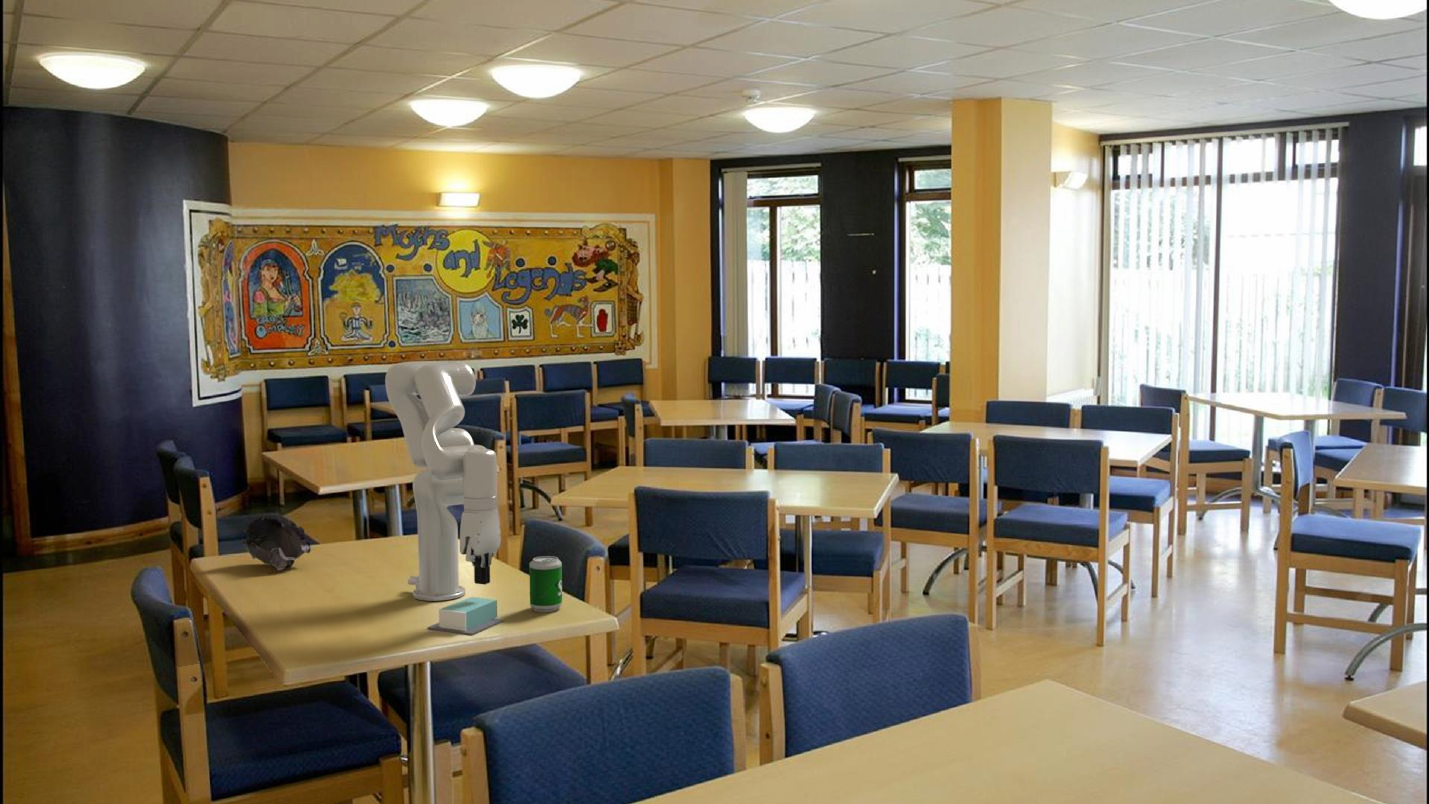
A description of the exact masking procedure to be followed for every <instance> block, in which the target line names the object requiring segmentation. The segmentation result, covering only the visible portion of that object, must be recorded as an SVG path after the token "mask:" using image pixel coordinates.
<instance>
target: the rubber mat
mask: <svg viewBox="0 0 1429 804" xmlns="http://www.w3.org/2000/svg"><path fill="white" fill-rule="evenodd" d="M503 622H505V619H502V618H494V619H492V620H490V621H487V622H485V623H483V624H480V625H478V626H476V627H473V628H471V629H469V630H466V631H463V630H456V629H449V628H442V627H439V622H437V623H435V624H432V625H430V626H427V630H433V631H440V632H446V633H447V632H448V633H455V634H460V635H461V634H462V635H468V636H474V635H477V634H479V633H481V632H483V631H485V630H488V629H489V628H490V629H491V628H492V627H495V626H497V625H499V624H501V623H503Z"/></svg>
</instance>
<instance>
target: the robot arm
mask: <svg viewBox="0 0 1429 804" xmlns="http://www.w3.org/2000/svg"><path fill="white" fill-rule="evenodd" d="M476 382H477V381H476V375H475V373H474V371H473V369H472V368H471V366H470V365H469V364H467V363H465V362H461V361H455V360H425V361H424V360H420V361H419V360H418V361H416V360H415V361H403V362H399V363H395V364H394V365H391V366H390V367H389V368H388V369H387V371H386V374H385V380H384V383H385V392H386V395H387V399H388V401H389V404H390V405H391V407H392V410H393V411H394V413H395V415H396V416H397V418H398V420H399V422H400V426H401V427H402V432H403V436H404V440H405V443H406V447H407V450H408V455H409V457H410V459H411V461H412V463H413V465H414V466H416V467H417V468H421V469H424V470H421V471H420V472H418V473H417V474H416V475H415V476H414V477H413V481H412V491H413V497H414V498H413V499H414V501H415V503H414V504H415V508H416V518H417V544H418V545H417V546H418V547H417V548H418V549H417V550H418V553H417V555H418V575H415V574H412V575H410V577H409V579H408V580H407V584H408V585H410V586H411V585H412V586H415V589H414V590H413V591H412V597H413V598H414V599H416V600H420V601H427V602H428V601H429V602H438V601H439V602H440V601H450V600H455V599H458V598H460V597H463V596H465V594H466V588H465V587H464V586H463V585H462V586H461V585H460V582H459V578H460V577H459V573H460V572H459V552H460V554H461V555H465V562H467V563H471V565H472V567H473V571H474V573H473V578H474V580H473V581H474V584H476V585H487V584H490V583H491V565H492V559H493V557H494V556H495V555H496V554H497V553H498V550H499V549H500V547H501V539H502V538H501V537H502V536H501V522H500V513H499V510H498V507H499V505H498V504H499V503H498V502H499V501H498V500H499V499H498V463H497V462H498V461H497V460H498V459H497V453H496V452H495V451H494V450H492V449H488V448H487V447H485V446H483V445H482V444H481V445H480V444H475V443H474V440H473V438H472V435H471V434H470V433H469V432H468V431H467V430H466V429H463V428H457V427H456V426H458V425H459V424H460V422H462V421H463V420H464V417H465V413H466V410H465V407H464V404H463V402H462V400H461V397H469V396H470V395H472V394H473V393H474V391H475V389H476ZM418 396H420V398H419V397H418ZM458 505H463V511H462V514H461V520H460V528H459V527H458V522H457V519H456V518H455V516H454V515H453V514H452V513H451V511H449V509H448V507H451V506H458ZM458 528H459V530H458ZM458 531H459V532H458Z"/></svg>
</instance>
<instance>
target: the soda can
mask: <svg viewBox="0 0 1429 804" xmlns="http://www.w3.org/2000/svg"><path fill="white" fill-rule="evenodd" d="M528 566H529V568H528V569H529V605H530V608H532V609H533V611H535V612H538V613H551V612H556V611H558V610H559V609H560V607H561V606H562V605H563V574H562V573H563V572H562V571H563V567H562V566H563V565H562V561H561V560H560V559H559V558H558V557H557V556H553V555H552V556H550V555H546V556H545V555H544V556H536V557H534V558H533V559H532V561H530V562H529V565H528Z"/></svg>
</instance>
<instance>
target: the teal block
mask: <svg viewBox="0 0 1429 804" xmlns="http://www.w3.org/2000/svg"><path fill="white" fill-rule="evenodd" d="M494 618H496V619H498V599H492V598H484V597H478V596H477V597H476V596H470V597H468V598H465V599H462V600H460V601H457V602H455V603H452V604H449V605H446V606H445V607H442V608H439V609H438V620H439V622H438V623H439V627H442V628H449V629H456V630H463V631H466V630H469V629H471V628H473V627H476V626H478V625H480V624H483V623H485V622H487V621H490V620H492V619H494Z"/></svg>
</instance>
